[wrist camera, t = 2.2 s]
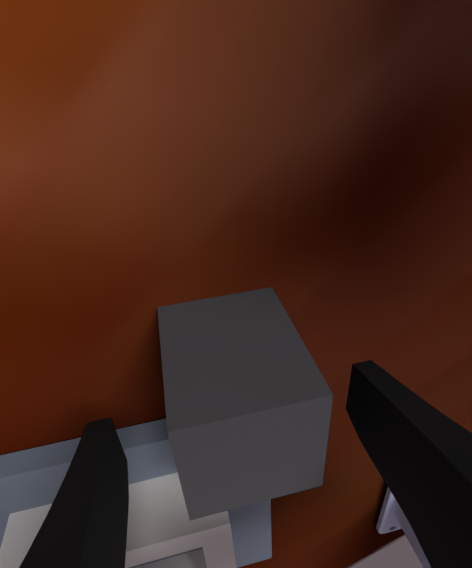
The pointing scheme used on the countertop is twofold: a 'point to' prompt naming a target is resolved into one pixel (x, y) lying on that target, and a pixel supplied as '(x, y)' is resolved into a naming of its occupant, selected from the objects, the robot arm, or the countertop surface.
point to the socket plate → (132, 507)
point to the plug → (241, 402)
